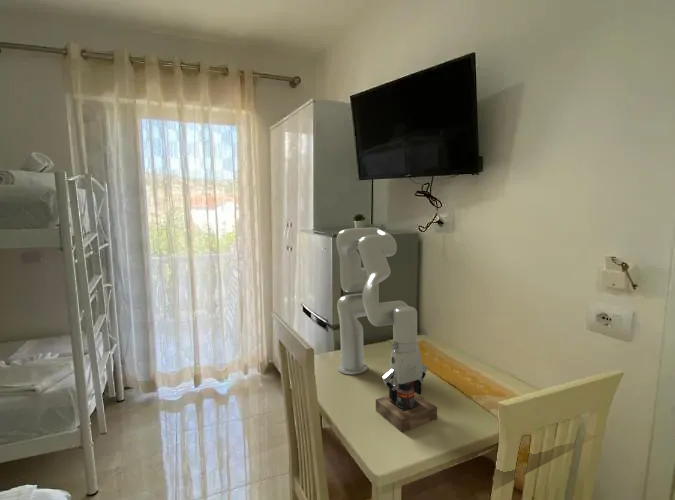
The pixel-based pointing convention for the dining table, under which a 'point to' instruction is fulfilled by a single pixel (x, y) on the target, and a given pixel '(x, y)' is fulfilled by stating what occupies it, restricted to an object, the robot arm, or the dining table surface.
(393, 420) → the socket block
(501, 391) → the dining table surface
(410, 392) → the supplement bottle
